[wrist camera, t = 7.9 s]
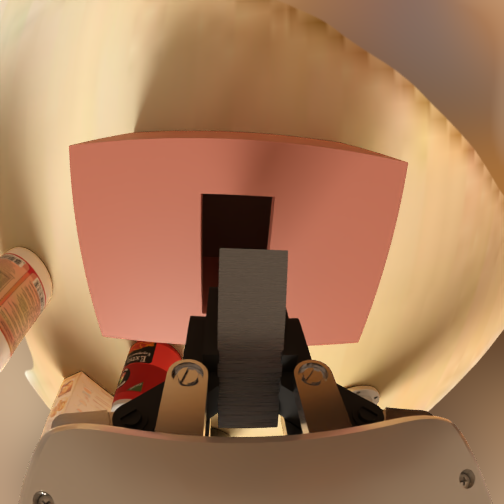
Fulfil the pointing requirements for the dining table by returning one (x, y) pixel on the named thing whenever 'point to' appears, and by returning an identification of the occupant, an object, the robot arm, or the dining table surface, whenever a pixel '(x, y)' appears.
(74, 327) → the dining table surface
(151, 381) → the canned food
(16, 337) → the fruit juice
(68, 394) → the coffeecake box
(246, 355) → the block
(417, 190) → the dining table surface
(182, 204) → the box
